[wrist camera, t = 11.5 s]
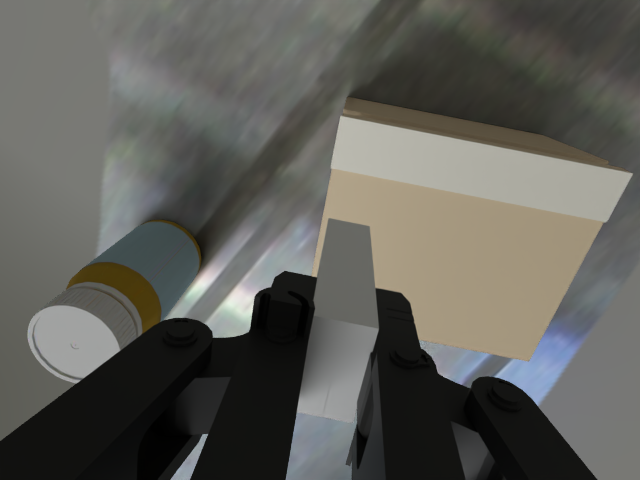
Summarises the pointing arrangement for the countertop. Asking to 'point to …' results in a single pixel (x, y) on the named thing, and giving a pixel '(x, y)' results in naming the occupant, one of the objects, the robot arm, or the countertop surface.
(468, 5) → the countertop surface
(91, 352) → the bottle
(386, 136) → the flap
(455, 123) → the carton
